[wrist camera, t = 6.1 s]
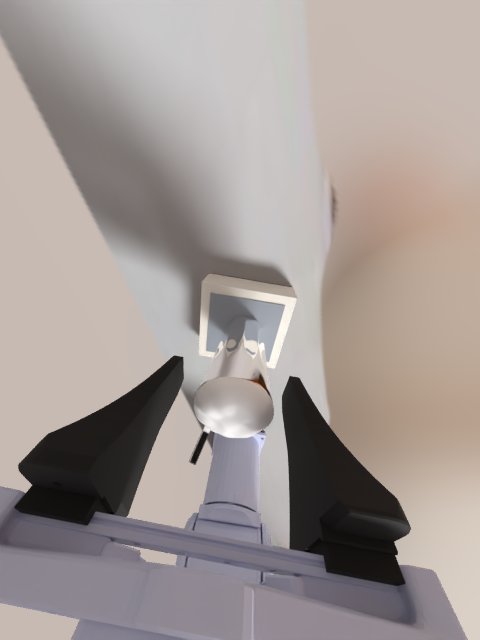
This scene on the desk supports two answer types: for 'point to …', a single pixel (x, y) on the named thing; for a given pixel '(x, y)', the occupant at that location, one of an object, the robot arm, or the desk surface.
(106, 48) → the desk surface
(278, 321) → the plinth
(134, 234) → the desk surface
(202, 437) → the milkshake
